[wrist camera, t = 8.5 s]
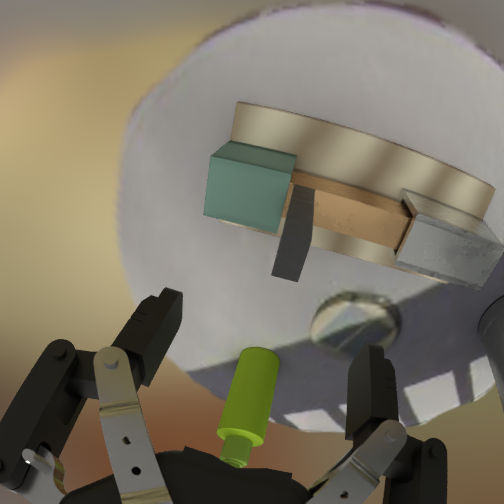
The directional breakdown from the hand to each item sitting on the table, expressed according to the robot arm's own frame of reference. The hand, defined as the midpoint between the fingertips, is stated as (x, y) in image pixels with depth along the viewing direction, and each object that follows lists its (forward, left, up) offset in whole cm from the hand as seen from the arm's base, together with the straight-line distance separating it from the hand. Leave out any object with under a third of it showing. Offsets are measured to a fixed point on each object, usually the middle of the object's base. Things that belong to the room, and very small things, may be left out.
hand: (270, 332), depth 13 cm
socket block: (+4, 0, -19) cm, 19 cm away
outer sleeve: (-14, 0, -19) cm, 23 cm away
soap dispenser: (-1, +27, -19) cm, 33 cm away
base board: (-6, 0, -19) cm, 20 cm away
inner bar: (-5, 0, -16) cm, 17 cm away
